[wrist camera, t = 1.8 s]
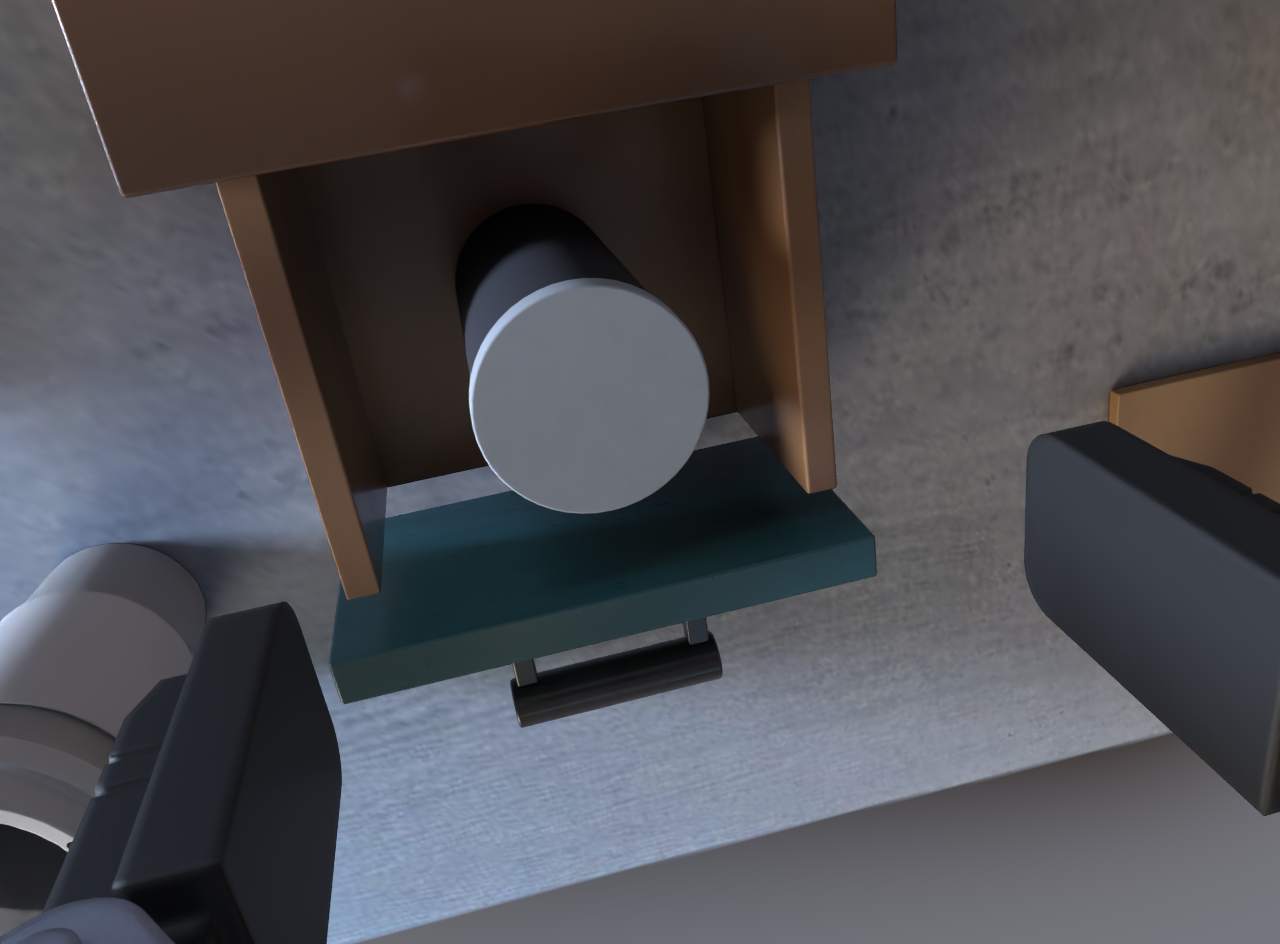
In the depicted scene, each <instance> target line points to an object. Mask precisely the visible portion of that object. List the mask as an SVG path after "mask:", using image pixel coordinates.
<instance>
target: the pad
mask: <svg viewBox="0 0 1280 944" xmlns="http://www.w3.org/2000/svg"><path fill="white" fill-rule="evenodd" d="M1109 422H1111V423H1113V424H1115V425H1117V426H1119V427H1121V428H1122V429H1124V430H1126V431H1128V432H1130V433H1131V434H1133V435H1135V436H1137V437H1138V438H1140V439H1142V440H1144V441H1146V442H1147V443H1149V444H1151V445H1153V446H1155V447H1156V448H1158V449H1160V450H1162V451H1163V452H1165V453H1167V454H1169V455H1172V456H1175V457H1179V458H1182V459H1186V460H1189V461H1193V462H1196V463H1200V464H1203V465H1207V466H1210V467H1213V468H1215V469H1217V470H1219V471H1221V472H1223V473H1224V474H1226V475H1228V476H1230V477H1232V478H1234V479H1235V480H1237V481H1239V482H1241V483H1243V484H1245V485H1246V486H1248V487H1250V488H1252V492H1253V494H1257V493H1261V494H1263V495H1265V496H1267V497H1268V498H1270V499H1272V500H1274V501H1276V502H1278V503H1279V504H1280V352H1279V353H1275V354H1270V355H1266V356H1261V357H1257V358H1253V359H1248V360H1244V361H1239V362H1235V363H1230V364H1226V365H1221V366H1217V367H1212V368H1208V369H1203V370H1199V371H1194V372H1190V373H1186V374H1181V375H1177V376H1172V377H1168V378H1163V379H1159V380H1154V381H1150V382H1145V383H1141V384H1136V385H1132V386H1127V387H1123V388H1119V389H1114V390H1111V393H1110V410H1109Z"/></svg>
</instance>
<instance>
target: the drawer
mask: <svg viewBox="0 0 1280 944" xmlns="http://www.w3.org/2000/svg"><path fill="white" fill-rule="evenodd" d="M216 187H217V190H218V193H219V196H220V199H221V202H222V206H223V209H224V212H225V215H226V218H227V221H228V225H229V228H230V231H231V234H232V237H233V240H234V244H235V247H236V250H237V253H238V256H239V259H240V263H241V266H242V269H243V272H244V275H245V278H246V282H247V285H248V288H249V291H250V294H251V297H252V301H253V304H254V307H255V310H256V313H257V316H258V320H259V323H260V326H261V329H262V332H263V335H264V339H265V342H266V345H267V348H268V351H269V354H270V358H271V361H272V364H273V367H274V370H275V373H276V377H277V380H278V383H279V386H280V389H281V392H282V396H283V399H284V402H285V405H286V408H287V411H288V415H289V418H290V421H291V424H292V427H293V430H294V434H295V437H296V440H297V443H298V446H299V449H300V453H301V456H302V459H303V462H304V465H305V468H306V472H307V475H308V478H309V481H310V484H311V487H312V491H313V494H314V497H315V500H316V503H317V506H318V510H319V513H320V516H321V519H322V522H323V525H324V529H325V532H326V535H327V538H328V541H329V544H330V548H331V551H332V554H333V557H334V560H335V563H336V567H337V570H338V573H339V576H340V586H339V594H338V601H337V609H336V616H335V624H334V631H333V639H332V646H331V654H330V662H329V668H330V671H331V674H332V677H333V680H334V683H335V686H336V689H337V692H338V695H339V698H340V701H341V703H342V704H348V703H352V702H356V701H360V700H364V699H368V698H372V697H377V696H381V695H385V694H389V693H393V692H397V691H401V690H406V689H410V688H414V687H418V686H422V685H426V684H430V683H435V682H439V681H443V680H447V679H451V678H455V677H459V676H464V675H468V674H472V673H476V672H480V671H484V670H488V669H493V668H497V667H501V666H505V665H509V664H512V665H513V669H514V673H515V677H516V678H514V679H512V680H511V681H510V685H511V691H512V696H513V701H514V706H515V710H516V715H517V719H518V723H519V726H520V727H521V728H523V727H527V726H531V725H535V724H539V723H543V722H547V721H551V720H555V719H559V718H563V717H567V716H571V715H575V714H579V713H583V712H587V711H591V710H595V709H599V708H603V707H607V706H611V705H615V704H620V703H624V702H628V701H632V700H636V699H640V698H644V697H648V696H652V695H656V694H660V693H664V692H668V691H672V690H676V689H680V688H684V687H688V686H692V685H696V684H700V683H704V682H708V681H712V680H716V679H720V678H721V677H722V663H721V658H720V653H719V650H718V646H717V643H716V641H715V638H714V636H713V634H712V633H711V632H710V631H708V629H707V622H706V617H708V616H712V615H716V614H720V613H725V612H729V611H733V610H737V609H741V608H745V607H749V606H754V605H758V604H762V603H766V602H770V601H774V600H778V599H783V598H787V597H791V596H795V595H799V594H803V593H807V592H812V591H816V590H820V589H824V588H828V587H832V586H836V585H840V584H845V583H849V582H853V581H857V580H861V579H865V578H869V577H874V576H876V575H877V568H876V549H875V536H874V535H873V534H872V533H871V532H870V531H869V529H868V528H867V527H866V526H865V525H864V524H863V523H862V522H861V521H860V520H859V519H858V517H857V516H856V515H855V514H854V513H853V512H852V511H851V510H850V509H849V508H848V507H847V505H846V504H845V503H844V502H843V501H842V500H841V499H840V498H839V497H838V496H837V495H836V493H835V492H834V491H833V490H832V489H833V488H836V486H837V479H836V464H835V450H834V435H833V420H832V406H831V391H830V377H829V362H828V347H827V333H826V318H825V304H824V289H823V274H822V260H821V245H820V231H819V216H818V202H817V187H816V172H815V158H814V143H813V129H812V114H811V99H810V85H809V79H807V80H801V81H795V82H789V83H784V84H778V85H772V86H766V87H761V88H755V89H749V90H743V91H738V92H732V93H726V94H721V95H715V96H709V97H703V98H698V99H692V100H686V101H680V102H675V103H669V104H663V105H657V106H652V107H646V108H640V109H635V110H629V111H623V112H617V113H612V114H606V115H600V116H594V117H589V118H583V119H577V120H571V121H566V122H560V123H554V124H549V125H543V126H537V127H531V128H526V129H520V130H514V131H508V132H503V133H497V134H491V135H485V136H480V137H474V138H468V139H463V140H457V141H451V142H445V143H440V144H434V145H428V146H422V147H417V148H411V149H405V150H400V151H394V152H388V153H382V154H377V155H371V156H365V157H359V158H354V159H348V160H342V161H336V162H331V163H325V164H319V165H314V166H308V167H302V168H296V169H291V170H285V171H279V172H273V173H268V174H262V175H256V176H250V177H245V178H239V179H233V180H228V181H222V182H216ZM529 203H531V204H545V205H551V206H554V207H558V208H561V209H563V210H565V211H568V212H570V213H571V214H573V215H575V216H576V217H578V218H579V219H580V220H582V221H583V222H584V223H585V224H587V226H588V227H589V228H590V229H591V230H592V231H593V232H594V233H595V234H596V235H597V236H598V237H599V239H600V240H601V241H602V242H603V243H604V244H605V245H606V246H607V247H608V248H609V250H610V251H611V252H612V253H613V254H614V255H615V256H616V257H617V258H618V260H619V261H620V262H621V263H622V264H623V265H624V266H625V267H626V268H627V269H628V271H629V272H630V273H631V274H632V275H633V276H634V277H635V278H636V279H637V280H638V282H639V283H640V284H641V285H642V286H643V287H644V288H645V289H646V290H647V291H648V293H650V294H651V295H653V296H655V297H656V298H658V299H659V300H660V301H662V302H663V303H664V304H665V305H667V306H668V307H669V308H670V309H671V310H672V311H673V312H674V313H675V314H676V315H677V316H678V318H679V319H680V320H681V321H682V322H683V323H684V324H685V325H686V326H687V328H688V329H689V331H690V332H691V333H692V335H693V336H694V338H695V340H696V342H697V344H698V346H699V348H700V350H701V352H702V355H703V358H704V361H705V363H706V367H707V373H708V378H709V391H710V396H709V409H708V413H707V418H711V417H716V416H720V415H725V414H730V413H734V412H738V413H739V414H740V415H741V416H742V417H743V419H744V420H745V421H746V422H747V423H748V424H749V426H750V427H751V428H752V429H753V430H754V431H755V433H756V434H757V435H758V437H754V438H749V439H745V440H740V441H736V442H731V443H726V444H722V445H717V446H713V447H708V448H704V449H699V450H695V451H693V453H692V454H691V456H690V457H689V459H688V460H687V462H686V463H685V464H684V465H683V467H682V468H681V469H680V470H679V471H678V473H677V474H676V475H675V476H674V477H673V478H671V479H670V480H669V481H668V482H667V483H666V484H665V485H664V486H662V487H661V488H659V489H658V490H657V491H655V492H654V493H653V494H651V495H649V496H647V497H645V498H644V499H642V500H640V501H638V502H635V503H633V504H631V505H628V506H626V507H622V508H619V509H615V510H612V511H606V512H600V513H584V514H581V513H568V512H563V511H558V510H553V509H550V508H547V507H544V506H541V505H538V504H536V503H534V502H532V501H530V500H528V499H525V498H524V497H522V496H521V495H519V494H518V493H516V492H515V491H513V490H512V491H508V492H503V493H499V494H494V495H490V496H485V497H481V498H476V499H471V500H467V501H462V502H458V503H453V504H449V505H444V506H440V507H435V508H430V509H426V510H421V511H417V512H412V513H408V514H403V515H399V516H394V517H390V518H385V513H386V495H387V487H391V486H396V485H401V484H405V483H410V482H415V481H419V480H424V479H429V478H433V477H438V476H442V475H447V474H452V473H456V472H461V471H466V470H470V469H475V468H479V467H484V466H489V464H488V463H487V461H486V460H485V458H484V456H483V454H482V452H481V450H480V448H479V446H478V444H477V441H476V437H475V434H474V431H473V426H472V420H471V414H470V407H469V386H470V374H469V368H468V362H467V356H466V350H465V344H464V338H463V332H462V326H461V320H460V314H459V308H458V302H457V295H456V289H455V274H456V266H457V262H458V258H459V255H460V253H461V250H462V248H463V246H464V244H465V243H466V241H467V239H468V238H469V236H470V235H471V234H472V232H473V231H474V230H475V229H476V228H477V227H478V226H479V225H480V224H481V223H482V222H483V221H485V220H486V219H487V218H488V217H490V216H491V215H493V214H495V213H497V212H499V211H501V210H503V209H506V208H508V207H512V206H516V205H521V204H529ZM679 623H683V627H684V633H685V637H683V638H679V639H674V640H670V641H666V642H662V643H658V644H654V645H650V646H646V647H642V648H637V649H633V650H629V651H625V652H621V653H617V654H613V655H609V656H605V657H601V658H596V659H592V660H588V661H584V662H580V663H576V664H572V665H568V666H564V667H559V668H555V669H551V670H547V671H543V672H539V673H537V670H536V666H535V662H534V658H538V657H542V656H546V655H551V654H555V653H559V652H563V651H567V650H571V649H575V648H580V647H584V646H588V645H592V644H596V643H600V642H604V641H609V640H613V639H617V638H621V637H625V636H629V635H633V634H638V633H642V632H646V631H650V630H654V629H658V628H662V627H667V626H671V625H675V624H679Z"/></svg>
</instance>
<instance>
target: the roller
mask: <svg viewBox="0 0 1280 944" xmlns="http://www.w3.org/2000/svg"><path fill="white" fill-rule="evenodd" d="M455 289H456V295H457V302H458V308H459V314H460V320H461V326H462V332H463V338H464V344H465V350H466V356H467V362H468V368H469V374H470V386H469V407H470V414H471V420H472V426H473V431H474V434H475V437H476V441H477V444H478V446H479V448H480V450H481V452H482V454H483V456H484V458H485V460H486V461H487V463H488V464H489V466H490V467H491V469H492V470H493V471H494V472H495V474H496V475H497V476H498V477H499V478H500V479H501V480H502V481H503V482H504V483H505V484H506V485H507V486H508V487H510V488H511V489H512V490H513V491H515V492H516V493H518V494H519V495H521V496H522V497H524V498H525V499H528V500H530V501H532V502H534V503H536V504H538V505H541V506H544V507H547V508H550V509H553V510H558V511H563V512H568V513H581V514H584V513H600V512H606V511H612V510H615V509H619V508H622V507H626V506H628V505H631V504H633V503H635V502H638V501H640V500H642V499H644V498H645V497H647V496H649V495H651V494H653V493H654V492H655V491H657V490H658V489H659V488H661V487H662V486H664V485H665V484H666V483H667V482H668V481H669V480H670V479H671V478H673V477H674V476H675V475H676V474H677V473H678V471H679V470H680V469H681V468H682V467H683V465H684V464H685V463H686V462H687V460H688V459H689V457H690V456H691V454H692V453H693V451H694V449H695V447H696V445H697V443H698V441H699V439H700V437H701V434H702V431H703V429H704V426H705V423H706V418H707V413H708V409H709V396H710V391H709V378H708V373H707V367H706V363H705V361H704V358H703V355H702V352H701V350H700V348H699V346H698V344H697V342H696V340H695V338H694V336H693V335H692V333H691V332H690V331H689V329H688V328H687V326H686V325H685V324H684V323H683V322H682V321H681V320H680V319H679V318H678V316H677V315H676V314H675V313H674V312H673V311H672V310H671V309H670V308H669V307H668V306H667V305H665V304H664V303H663V302H662V301H660V300H659V299H658V298H656V297H655V296H653V295H651V294H650V293H648V291H647V290H646V289H645V288H644V287H643V286H642V285H641V284H640V283H639V282H638V280H637V279H636V278H635V277H634V276H633V275H632V274H631V273H630V272H629V271H628V269H627V268H626V267H625V266H624V265H623V264H622V263H621V262H620V261H619V260H618V258H617V257H616V256H615V255H614V254H613V253H612V252H611V251H610V250H609V248H608V247H607V246H606V245H605V244H604V243H603V242H602V241H601V240H600V239H599V237H598V236H597V235H596V234H595V233H594V232H593V231H592V230H591V229H590V228H589V227H588V226H587V224H585V223H584V222H583V221H582V220H580V219H579V218H578V217H576V216H575V215H573V214H571V213H570V212H568V211H565V210H563V209H561V208H558V207H554V206H551V205H545V204H531V203H529V204H521V205H516V206H512V207H508V208H506V209H503V210H501V211H499V212H497V213H495V214H493V215H491V216H490V217H488V218H487V219H486V220H485V221H483V222H482V223H481V224H480V225H479V226H478V227H477V228H476V229H475V230H474V231H473V232H472V234H471V235H470V236H469V238H468V239H467V241H466V243H465V244H464V246H463V248H462V250H461V253H460V255H459V258H458V262H457V266H456V274H455Z"/></svg>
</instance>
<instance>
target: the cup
mask: <svg viewBox="0 0 1280 944" xmlns="http://www.w3.org/2000/svg"><path fill="white" fill-rule="evenodd" d="M205 620H206V608H205V602H204V597H203V595H202V592H201V590H200V588H199V586H198V584H197V583H196V581H195V580H194V578H193V577H192V576H191V574H190V573H189V572H188V571H187V570H186V569H185V568H183V567H182V566H181V565H180V564H179V563H178V562H176V561H174V560H173V559H171V558H170V557H168V556H167V555H165V554H162V553H160V552H158V551H155V550H153V549H150V548H147V547H143V546H138V545H133V544H122V543H114V544H102V545H97V546H93V547H89V548H86V549H83V550H81V551H79V552H77V553H75V554H73V555H71V556H69V557H68V558H66V559H65V560H64V561H62V562H61V563H60V564H59V565H58V566H57V567H56V568H55V569H54V570H53V571H52V572H51V573H50V574H49V576H48V577H47V578H46V579H45V580H44V581H43V582H42V583H41V585H40V586H39V587H38V588H37V589H36V590H35V591H34V592H33V594H32V595H31V596H30V597H29V598H28V599H27V600H26V602H25V603H24V604H22V605H20V606H19V607H17V608H16V609H14V610H13V611H12V612H10V613H9V614H8V615H6V616H5V617H4V618H3V619H2V621H1V622H0V937H1V936H2V935H4V934H5V933H6V932H8V931H10V930H11V929H13V928H15V927H16V926H18V925H20V924H21V923H23V922H25V921H27V920H29V919H31V918H33V917H35V916H37V915H39V914H41V913H42V912H43V910H44V907H45V905H46V903H47V900H48V898H49V896H50V893H51V891H52V889H53V886H54V884H55V881H56V879H57V877H58V874H59V872H60V870H61V867H62V865H63V863H64V860H65V858H66V855H67V853H68V851H69V848H70V846H71V844H72V841H73V839H74V837H75V834H76V832H77V829H78V827H79V825H80V822H81V820H82V818H83V815H84V813H85V811H86V808H87V806H88V803H89V801H90V799H91V798H95V791H94V789H95V787H96V785H97V782H98V780H99V777H100V775H101V773H102V770H103V768H104V766H105V765H106V764H109V758H108V756H109V754H110V751H111V749H112V747H113V744H114V742H115V740H116V737H117V735H118V733H119V730H120V728H121V725H122V723H123V721H124V718H125V717H126V716H127V715H128V714H129V713H130V712H131V711H132V710H133V709H134V708H135V707H136V705H137V704H138V703H139V702H140V701H141V700H142V699H143V698H144V697H145V696H146V695H147V694H148V693H149V692H150V691H151V690H152V689H153V688H154V687H155V686H156V684H157V683H158V682H159V681H160V680H162V679H167V678H171V677H175V676H180V675H184V674H187V673H188V671H189V668H190V665H191V662H192V659H193V657H194V654H195V651H196V648H197V645H198V642H199V640H200V637H201V634H202V631H203V628H204V626H205Z"/></svg>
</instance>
